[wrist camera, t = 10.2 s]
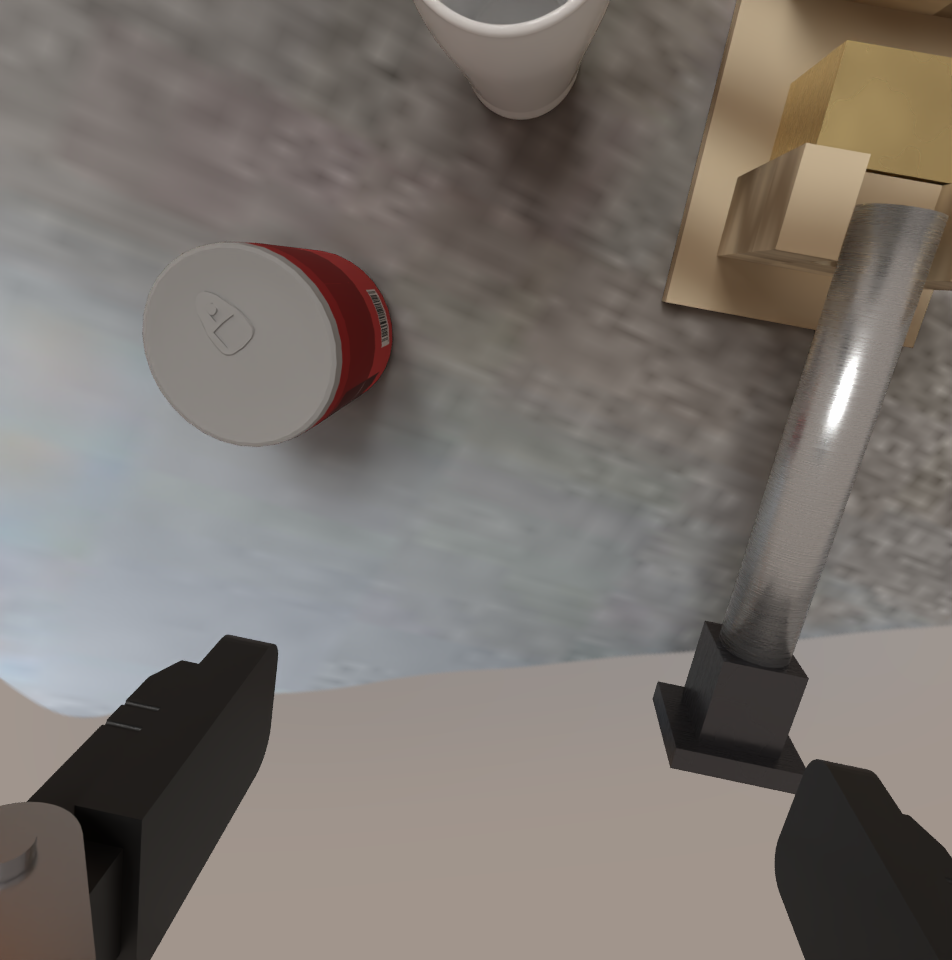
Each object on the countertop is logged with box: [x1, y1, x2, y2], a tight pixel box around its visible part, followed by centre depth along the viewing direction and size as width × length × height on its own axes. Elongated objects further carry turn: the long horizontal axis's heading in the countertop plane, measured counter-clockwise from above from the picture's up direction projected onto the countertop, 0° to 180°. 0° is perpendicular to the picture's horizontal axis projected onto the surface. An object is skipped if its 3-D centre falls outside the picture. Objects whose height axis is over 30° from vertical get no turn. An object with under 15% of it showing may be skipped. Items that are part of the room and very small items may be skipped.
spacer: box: [769, 40, 952, 186], centre depth 28 cm, size 4×6×6 cm, turn 80°
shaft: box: [653, 203, 949, 794], centre depth 28 cm, size 23×6×5 cm, turn 170°
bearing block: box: [662, 0, 952, 348], centre depth 28 cm, size 16×12×10 cm
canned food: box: [142, 242, 392, 447], centre depth 32 cm, size 8×8×11 cm
